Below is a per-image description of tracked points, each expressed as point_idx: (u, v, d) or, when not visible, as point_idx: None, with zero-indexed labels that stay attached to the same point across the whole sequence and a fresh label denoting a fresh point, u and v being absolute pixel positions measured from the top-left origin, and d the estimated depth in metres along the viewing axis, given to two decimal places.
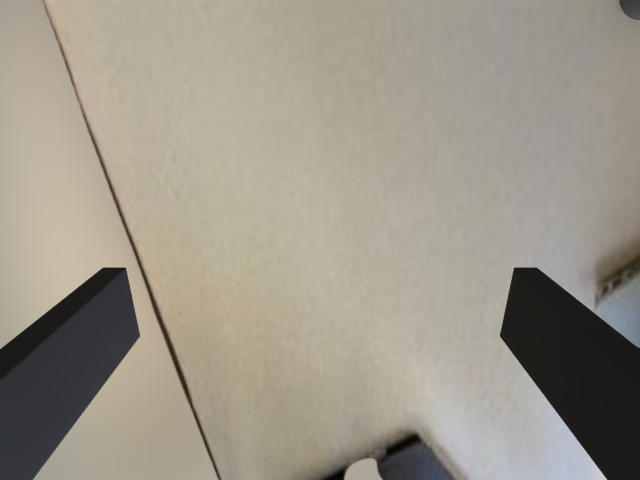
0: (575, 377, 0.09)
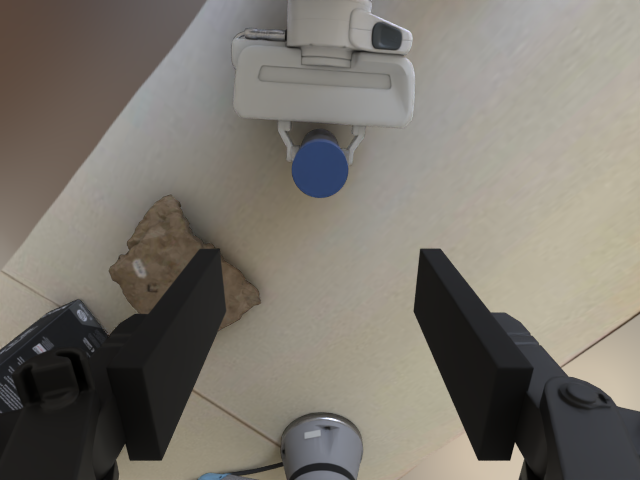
0: (447, 337, 0.11)
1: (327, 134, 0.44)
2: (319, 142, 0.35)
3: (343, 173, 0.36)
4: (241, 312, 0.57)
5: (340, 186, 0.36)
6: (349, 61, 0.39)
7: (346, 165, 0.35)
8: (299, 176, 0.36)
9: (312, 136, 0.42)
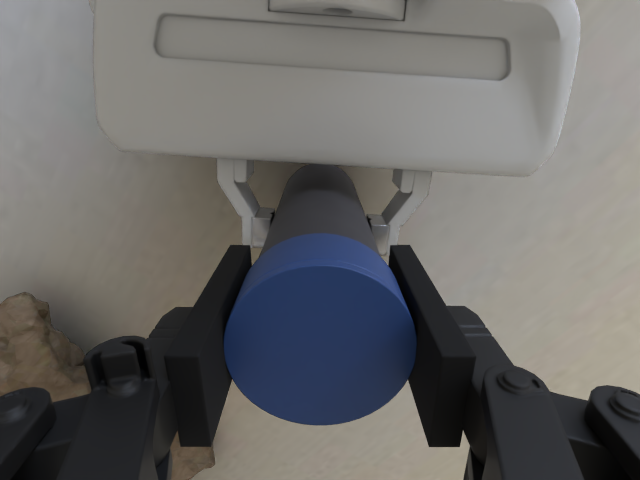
0: None
1: (337, 185, 0.19)
2: (318, 268, 0.09)
3: (400, 361, 0.10)
4: None
5: (387, 396, 0.11)
6: (402, 0, 0.14)
7: (412, 338, 0.10)
8: (250, 371, 0.11)
9: (301, 198, 0.17)
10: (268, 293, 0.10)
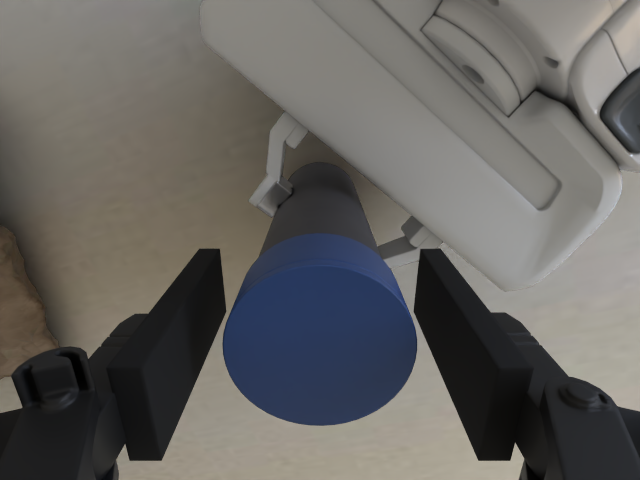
0: (447, 337, 0.11)
1: (359, 202, 0.20)
2: (235, 311, 0.10)
3: (374, 297, 0.10)
4: (2, 375, 0.28)
5: (407, 326, 0.10)
6: (518, 102, 0.16)
7: (356, 276, 0.09)
8: (302, 408, 0.11)
9: (334, 195, 0.17)
10: (237, 357, 0.10)
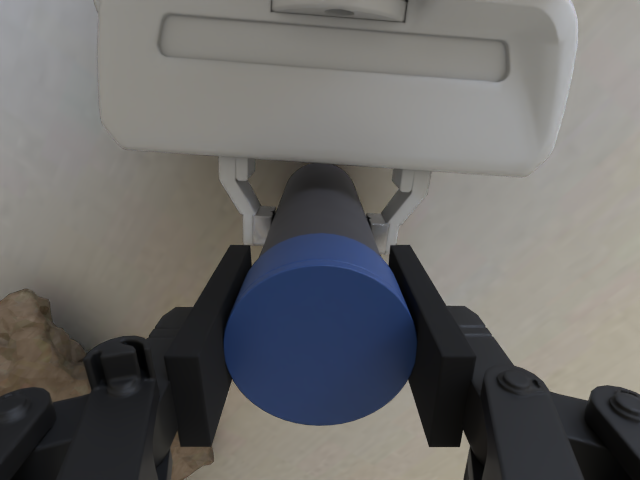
0: None
1: (337, 184, 0.19)
2: (227, 358, 0.10)
3: (327, 280, 0.10)
4: None
5: (376, 287, 0.10)
6: (403, 2, 0.14)
7: (296, 272, 0.09)
8: (344, 407, 0.11)
9: (302, 196, 0.17)
10: (257, 393, 0.11)
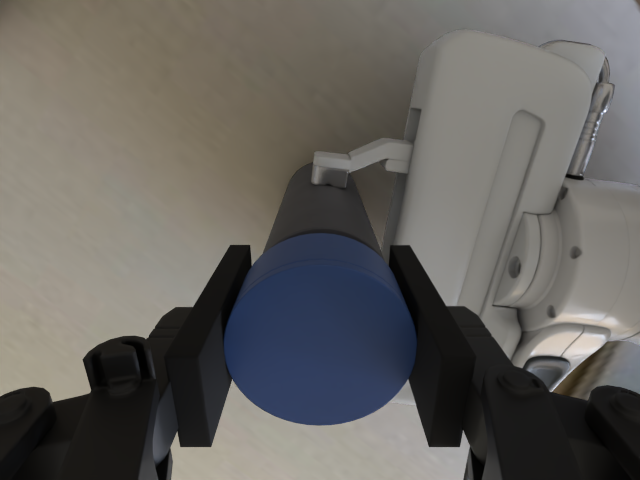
0: None
1: None
2: (227, 358, 0.10)
3: (327, 280, 0.10)
4: None
5: (376, 287, 0.10)
6: (506, 305, 0.20)
7: (296, 272, 0.09)
8: (344, 406, 0.11)
9: None
10: (258, 393, 0.11)
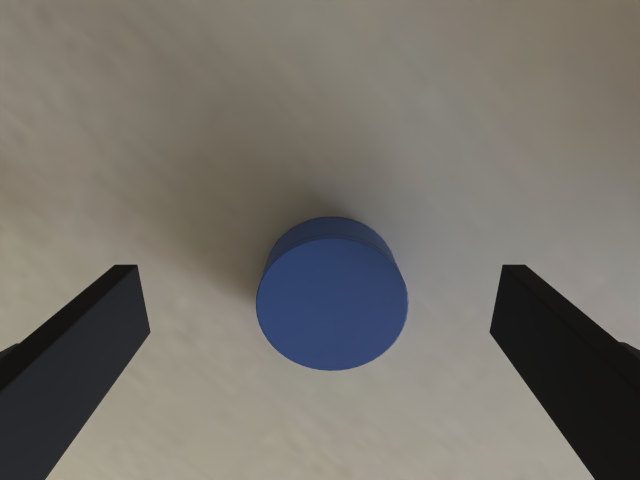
0: (559, 371, 0.10)
1: None
2: (258, 313, 0.13)
3: (338, 250, 0.12)
4: None
5: (376, 255, 0.12)
6: None
7: (314, 243, 0.12)
8: (350, 354, 0.14)
9: None
10: (282, 343, 0.14)
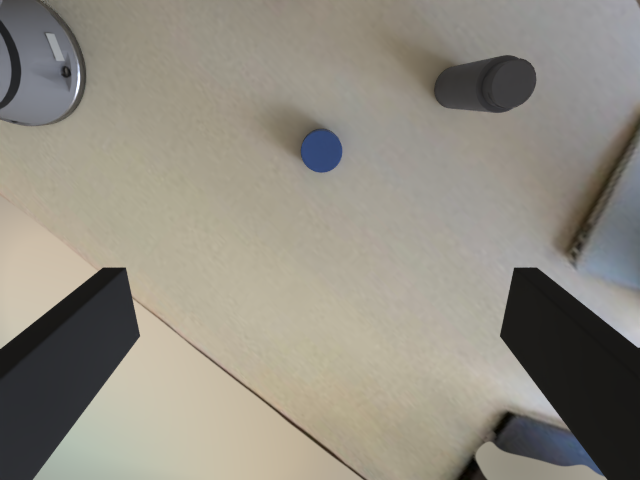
0: (575, 377, 0.09)
1: None
2: (301, 153, 0.49)
3: (322, 134, 0.48)
4: None
5: (332, 135, 0.48)
6: None
7: (316, 132, 0.48)
8: (327, 166, 0.49)
9: None
10: (307, 163, 0.49)
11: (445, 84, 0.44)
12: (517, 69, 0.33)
